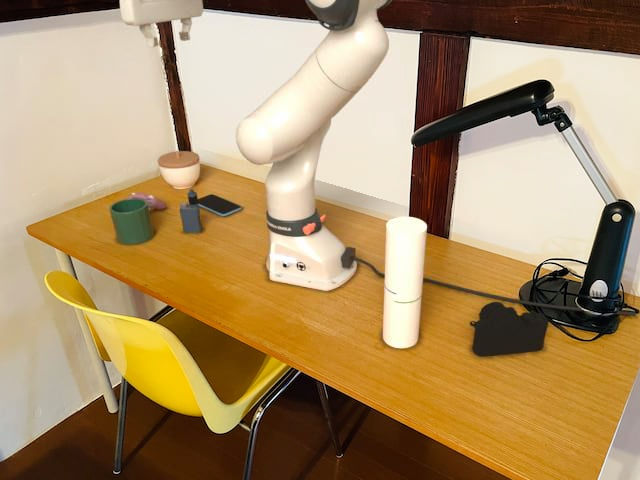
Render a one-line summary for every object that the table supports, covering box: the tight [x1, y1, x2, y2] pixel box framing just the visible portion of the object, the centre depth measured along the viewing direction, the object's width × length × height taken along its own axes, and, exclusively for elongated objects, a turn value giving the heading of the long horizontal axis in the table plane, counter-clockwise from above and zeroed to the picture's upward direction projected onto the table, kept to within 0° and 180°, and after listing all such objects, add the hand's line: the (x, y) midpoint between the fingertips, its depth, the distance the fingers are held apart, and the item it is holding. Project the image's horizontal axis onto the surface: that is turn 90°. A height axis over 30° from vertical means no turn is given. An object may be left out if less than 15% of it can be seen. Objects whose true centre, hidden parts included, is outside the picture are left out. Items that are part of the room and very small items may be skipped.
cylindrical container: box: [382, 216, 428, 349], centre depth 100 cm, size 7×7×25 cm
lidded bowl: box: [157, 150, 201, 190], centre depth 169 cm, size 13×13×11 cm
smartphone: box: [198, 193, 243, 217], centre depth 158 cm, size 7×1×15 cm
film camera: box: [469, 301, 550, 358], centre depth 104 cm, size 15×10×9 cm, turn 98°
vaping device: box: [179, 188, 203, 234], centre depth 142 cm, size 3×5×12 cm, turn 89°
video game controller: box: [127, 192, 167, 213], centre depth 155 cm, size 10×5×7 cm, turn 73°
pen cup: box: [108, 198, 155, 246], centre depth 140 cm, size 9×9×9 cm
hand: (169, 43), depth 119 cm, fingers open, 8 cm apart
